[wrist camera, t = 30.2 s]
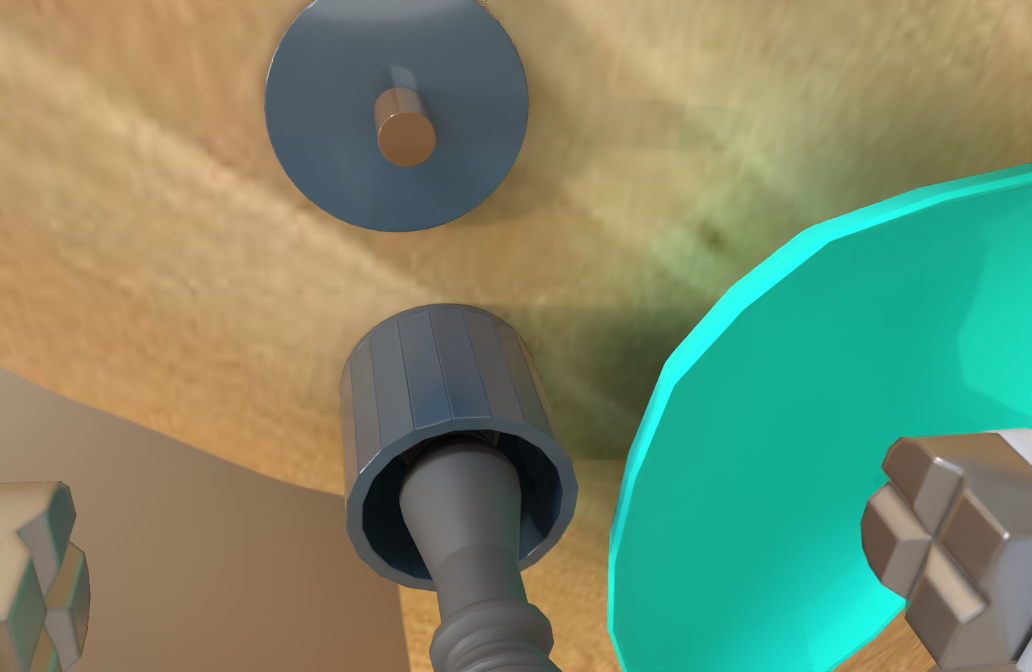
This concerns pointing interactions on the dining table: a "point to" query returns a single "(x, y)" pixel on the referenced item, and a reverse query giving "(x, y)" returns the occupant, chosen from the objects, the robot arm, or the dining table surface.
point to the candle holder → (473, 554)
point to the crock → (445, 427)
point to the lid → (396, 109)
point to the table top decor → (815, 427)
